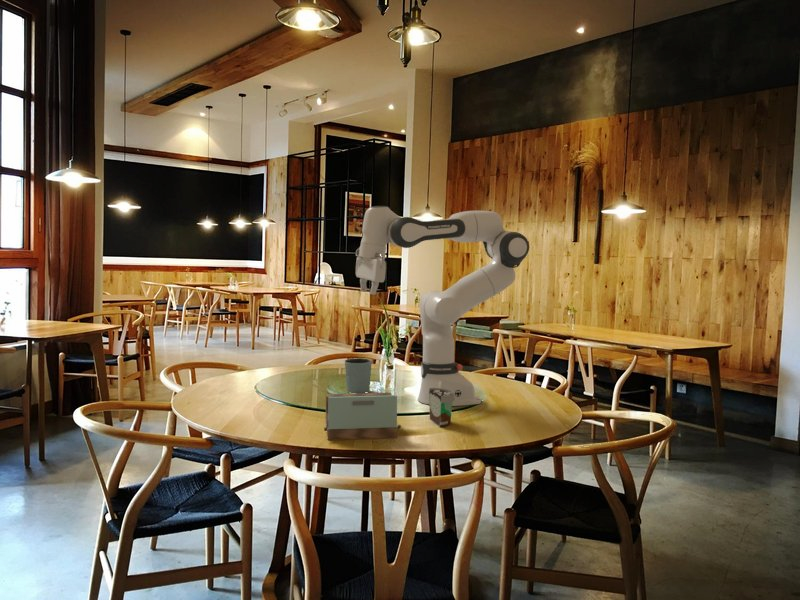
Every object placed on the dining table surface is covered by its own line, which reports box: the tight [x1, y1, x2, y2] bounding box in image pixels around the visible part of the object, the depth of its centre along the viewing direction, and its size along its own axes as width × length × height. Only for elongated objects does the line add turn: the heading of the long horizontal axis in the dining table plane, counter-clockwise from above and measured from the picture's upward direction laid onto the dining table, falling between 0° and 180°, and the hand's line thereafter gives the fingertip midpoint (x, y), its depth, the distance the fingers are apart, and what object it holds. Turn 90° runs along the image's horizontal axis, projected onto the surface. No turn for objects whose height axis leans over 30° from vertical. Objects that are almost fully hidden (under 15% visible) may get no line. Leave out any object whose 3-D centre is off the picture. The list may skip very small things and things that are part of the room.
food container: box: [429, 388, 455, 428], centre depth 206 cm, size 12×6×10 cm, turn 17°
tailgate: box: [328, 394, 398, 429], centre depth 188 cm, size 20×2×9 cm, turn 99°
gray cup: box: [344, 357, 373, 393], centre depth 246 cm, size 10×10×12 cm
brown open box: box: [323, 392, 402, 440], centre depth 194 cm, size 22×14×10 cm, turn 99°
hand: (367, 293), depth 225 cm, fingers open, 8 cm apart
